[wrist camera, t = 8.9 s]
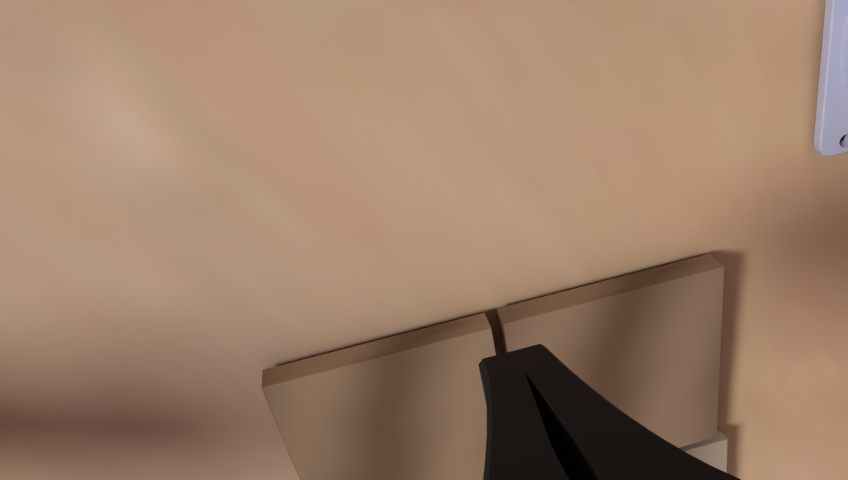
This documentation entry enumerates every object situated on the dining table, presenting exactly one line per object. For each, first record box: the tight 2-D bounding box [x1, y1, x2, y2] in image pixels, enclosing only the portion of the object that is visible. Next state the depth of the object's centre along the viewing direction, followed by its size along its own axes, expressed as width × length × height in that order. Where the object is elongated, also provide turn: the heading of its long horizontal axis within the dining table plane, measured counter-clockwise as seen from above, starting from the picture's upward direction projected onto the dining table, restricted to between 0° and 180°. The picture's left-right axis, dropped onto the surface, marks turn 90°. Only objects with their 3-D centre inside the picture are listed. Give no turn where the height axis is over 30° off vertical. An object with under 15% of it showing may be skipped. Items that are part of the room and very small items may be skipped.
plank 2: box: [497, 254, 724, 448], centre depth 27 cm, size 8×9×1 cm
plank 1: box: [262, 313, 496, 480], centre depth 26 cm, size 8×9×1 cm
